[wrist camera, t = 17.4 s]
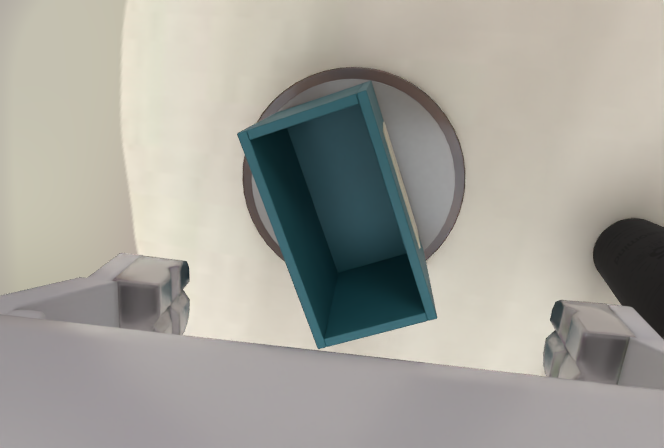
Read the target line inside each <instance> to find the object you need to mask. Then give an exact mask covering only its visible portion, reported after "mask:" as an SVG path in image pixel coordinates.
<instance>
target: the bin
mask: <svg viewBox="0 0 664 448" xmlns="http://www.w3.org/2000/svg"><path fill="white" fill-rule="evenodd" d="M237 135H238V138H239V140H240V143H241V146H242V148H243V151H244V154H245V156H246V159H247V162H248V164H249V167H250V170H251V172H252V175H253V178H254V180H255V183H256V186H257V188H258V191H259V194H260V196H261V199H262V201H263V204H264V207H265V209H266V212H267V215H268V217H269V220H270V223H271V225H272V228H273V231H274V233H275V236H276V239H277V241H278V244H279V247H280V249H281V252H282V255H283V257H284V260H285V263H286V265H287V268H288V271H289V273H290V276H291V279H292V281H293V284H294V287H295V289H296V292H297V295H298V297H299V300H300V302H301V305H302V308H303V310H304V313H305V316H306V318H307V321H308V324H309V326H310V329H311V332H312V334H313V337H314V340H315V342H316V345H317V348H318V349H321V348H325V347H326V346H327V347H328V346H332V345H336V344H340V343H344V342H348V341H352V340H355V339H359V338H363V337H367V336H371V335H375V334H379V333H383V332H386V331H390V330H394V329H398V328H402V327H406V326H410V325H414V324H417V323H421V322H425V321H427V320H433V319H436V318H437V314H436V309H435V304H434V299H433V294H432V289H431V285H430V280H429V275H428V270H427V265H426V260H425V255H424V251H423V248H422V244H421V241H420V238H419V234H418V230H417V226H416V223H415V220H414V216H413V213H412V210H411V207H410V203H409V200H408V197H407V193H406V190H405V187H404V184H403V180H402V177H401V174H400V171H399V167H398V164H397V161H396V158H395V154H394V151H393V148H392V145H391V141H390V138H389V135H388V132H387V128H386V125H385V122H384V121H383V117H382V114H381V111H380V107H379V104H378V101H377V98H376V94H375V91H374V88H373V85H372V81H368V82H365V83H362V84H359V85H356V86H353V87H350V88H347V89H344V90H342V91H339V92H336V93H333V94H330V95H327V96H324V97H321V98H318V99H315V100H312V101H309V102H306V103H303V104H300V105H297V106H295V107H292V108H289V109H286V110H283V111H280V112H277V113H275V114H273V115H271V116H269V117H267V118H265V119H263V120H262V121H260V122H258V123H256V124H254V125H252V126H250V127H248V128H247V129H245V130H243V131H241V132H239V133H238V134H237Z"/></svg>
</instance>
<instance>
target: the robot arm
mask: <svg viewBox="0 0 664 448" xmlns="http://www.w3.org/2000/svg"><path fill="white" fill-rule="evenodd" d="M188 282H189V266H188V263H187V261H182V260H173V259H165V258H157V257H149V256H143V255H137V254H125V253H119V254H118V255H117V256H115V257H114V258H113V259H111V260H110V261H109V262H107V263H106V264H105V265H103V266H102V267H101V268H100V269H98V270H97V271H96V272H94V273H93V274H91V275H90V276H89V277H88V278H82V277H79V278H75V279H70V280H66V281H62V282H57V283H53V284H49V285H44V286H40V287H35V288H32V289H27V290H23V291H18V292H14V293H9V294H6V295H1V296H0V448H664V340H663V339H662V338H661V337H660V335H659V334H658V333H657V332H656V331H655V330H654V329H653V328H652V327H651V326H650V325H649V324H648V323H647V322H646V321H645V320H644V319H643V318H642V317H641V316H640V315H639V314H638V313H637V312H636V311H635V310H634V309H633V308H632V307H629V306H619V305H607V304H603V303H591V302H579V301H567V300H559V301H557V302H555V305H554V307H553V309H552V313H551V318H550V321H551V323H552V325H553V327H554V329H555V331H554V332H553V333H552V334H551V335H549V336H548V337H547V338H546V341H545V347H544V352H543V366H544V370H545V374H546V376H537V375H529V374H520V373H511V372H502V371H494V370H485V369H476V368H467V367H458V366H450V365H441V364H432V363H423V362H414V361H406V360H397V359H388V358H379V357H371V356H362V355H353V354H344V353H335V352H327V351H318V350H309V349H300V348H291V347H283V346H274V345H265V344H256V343H247V342H239V341H230V340H221V339H212V338H204V337H195V336H186V335H183V333H184V332H185V328H186V325H187V322H188V317H189V306H190V299H189V298H188V296H187V295H186V294H185V292H184V291H183V289H184V287H185V286H186V285H187V284H188Z"/></svg>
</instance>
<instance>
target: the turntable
mask: <svg viewBox="0 0 664 448" xmlns="http://www.w3.org/2000/svg"><path fill="white" fill-rule="evenodd" d="M368 81H372V85H373V88H374V91H375V94H376V98H377V101H378V104H379V107H380V111H381V114H382V117H383V121H384V122H385V125H386V128H387V132H388V135H389V138H390V141H391V145H392V148H393V151H394V154H395V158H396V161H397V164H398V167H399V171H400V174H401V177H402V180H403V184H404V187H405V190H406V193H407V197H408V200H409V203H410V207H411V210H412V213H413V216H414V220H415V223H416V226H417V230H418V234H419V238H420V241H421V244H422V248H423V251H424V255H425V260H427V259H428V258H429V257H430V256H431V255H432V254H433V253H434V252H436V251H437V250H438V248H439V247H440V246H441V245H442V243H443V242H444V241H445V240H446V238H447V236H448V235H449V233H450V231H451V230H452V228H453V226H454V224H455V222H456V220H457V217H458V215H459V212H460V209H461V205H462V202H463V196H464V189H465V166H464V158H463V154H462V150H461V146H460V143H459V140H458V138H457V135H456V133H455V131H454V128H453V127H452V125H451V123H450V122H449V120H448V118H447V117H446V115H445V114H444V113H443V111H442V110H441V109H440V108H439V106H438V105H437V104H436V103H435V102H434V101H433V100H432V99H431V98H430V97H429V96H428V95H427V94H426V93H424V92H423V91H422V90H420V89H419V88H418V87H416V86H415V85H413V84H412V83H410V82H408V81H406V80H404V79H403V78H401V77H399V76H396V75H393V74H391V73H388V72H385V71H381V70H376V69H372V68H362V67H346V68H337V69H332V70H327V71H323V72H320V73H317V74H314V75H311V76H308V77H307V78H305V79H303V80H301V81H299V82H297V83H295V84H293V85H292V86H291V87H289V88H288V89H286V90H285V91H283V92H282V93H281V94H280V95H279V96H278V97H277V98H276V99H275V100H274V101H272V103H271V104H270V105H269V106H268V107H267V109H266V110H265V111H264V112H263V114H262V115H261V117H260V118H259V120H258V122H260V121H262V120H263V119H265V118H267V117H269V116H271V115H273V114H275V113H277V112H280V111H283V110H286V109H289V108H292V107H295V106H297V105H300V104H303V103H306V102H309V101H312V100H315V99H318V98H321V97H324V96H327V95H330V94H333V93H336V92H339V91H342V90H344V89H347V88H350V87H353V86H356V85H359V84H362V83H365V82H368ZM258 122H257V123H258ZM243 188H244V195H245V199H246V204H247V208H248V210H249V213H250V216H251V218H252V221H253V223H254V224H255V226H256V228H257V230H258V232H259V234H260V235H261V236H262V238H263V239H264V241H265V242H266V243H267V245H268V246H269V247H270V248H271V249H272V250H273V251H274V252H275V253H276V254H277V255H278V256H279V257H280V258H281V259H282V260H284V257H283V255H282V252H281V249H280V247H279V244H278V241H277V239H276V236H275V233H274V231H273V228H272V225H271V223H270V220H269V217H268V215H267V212H266V209H265V207H264V204H263V201H262V199H261V196H260V194H259V191H258V188H257V186H256V183H255V180H254V178H253V175H252V172H251V170H250V167H249V164H248V162H247V159H246V156H245V157H244V163H243ZM284 261H285V260H284Z"/></svg>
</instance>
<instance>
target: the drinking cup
mask: <svg viewBox="0 0 664 448" xmlns="http://www.w3.org/2000/svg"><path fill="white" fill-rule="evenodd" d="M593 258H594V263H595V266H596V268H597V270H598V271H599V273H600V274H601V276H602V277H603V279H604V280H605V282H606V283H607V285H608V286H609V287H610V289H611V290H612V292H613V293H614V295H615V296H616V298H617V299H618V301H619V302H620V303H621V305H622V306H629V307H632V308H633V309H634V310H635V311H636V312H637V313H638V314H639V315H640V316H641V317H642V318H643V319H644V320H645V321H646V322H647V323H648V324H649V325H650V326H651V327H652V328H653V329H654V330H655V331H656V332H657V333H658V334H659V335H660V337H661V338H662V339H663V340H664V227H662V226H659V225H657V224H654V223H652V222H650V221H647V220H644V219H637V218H632V219H625V220H621V221H619V222H616V223H614V224H612V225H611V226H609V227H608V228H607V229H606V230H605V231H604V232H603V233H602V234H601V235H600V236H599V238H598V240H597V242H596V244H595V247H594V252H593Z"/></svg>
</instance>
